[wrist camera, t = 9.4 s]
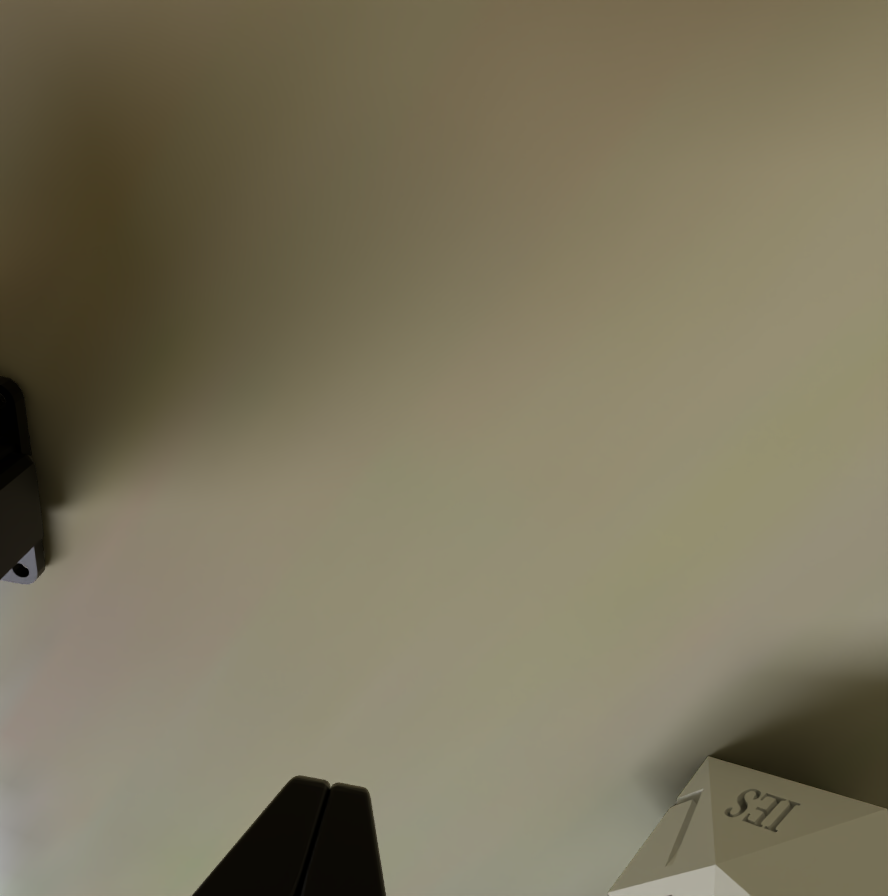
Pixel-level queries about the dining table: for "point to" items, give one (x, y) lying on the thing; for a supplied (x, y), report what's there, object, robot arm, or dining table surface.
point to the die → (760, 841)
